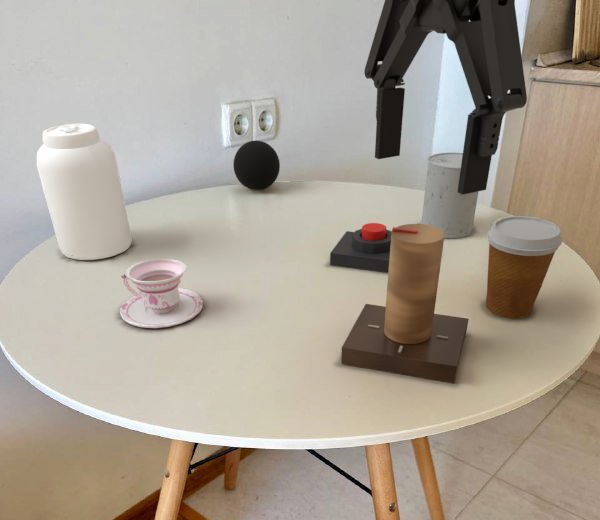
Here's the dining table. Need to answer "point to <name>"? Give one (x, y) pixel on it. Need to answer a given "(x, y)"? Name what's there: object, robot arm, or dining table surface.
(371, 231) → the red button
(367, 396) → the dining table surface
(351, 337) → the dark brown wooden base
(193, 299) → the teacup
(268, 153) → the decorative ball
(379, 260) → the button base
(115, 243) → the white lidded jar
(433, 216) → the gray concrete cylinder
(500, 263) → the disposable coffee cup
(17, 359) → the dining table surface
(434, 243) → the wooden cylinder
